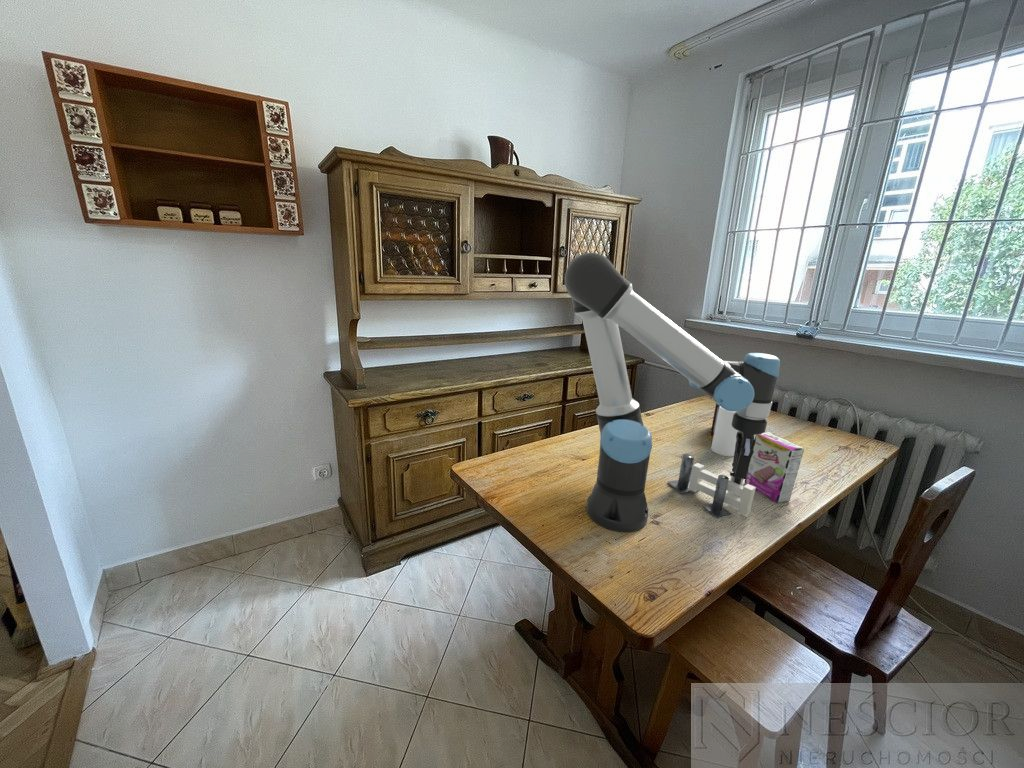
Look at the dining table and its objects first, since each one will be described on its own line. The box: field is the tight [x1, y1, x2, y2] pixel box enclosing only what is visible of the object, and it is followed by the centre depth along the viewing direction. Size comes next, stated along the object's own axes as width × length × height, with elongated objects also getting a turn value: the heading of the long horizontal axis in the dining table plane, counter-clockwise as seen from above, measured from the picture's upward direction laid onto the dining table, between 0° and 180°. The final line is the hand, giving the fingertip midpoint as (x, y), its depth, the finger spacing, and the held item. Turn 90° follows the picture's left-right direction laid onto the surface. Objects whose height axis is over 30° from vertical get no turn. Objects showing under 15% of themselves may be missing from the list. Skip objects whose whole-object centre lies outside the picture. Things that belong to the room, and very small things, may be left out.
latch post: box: [701, 474, 733, 519], centre depth 103 cm, size 5×5×10 cm
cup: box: [710, 406, 738, 457], centre depth 137 cm, size 8×8×16 cm
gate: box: [689, 462, 756, 517], centre depth 106 cm, size 16×2×8 cm, turn 38°
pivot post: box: [667, 453, 699, 496], centre depth 114 cm, size 6×6×10 cm
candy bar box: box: [743, 431, 805, 504], centre depth 112 cm, size 11×5×16 cm, turn 18°
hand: (733, 496), depth 108 cm, fingers closed
